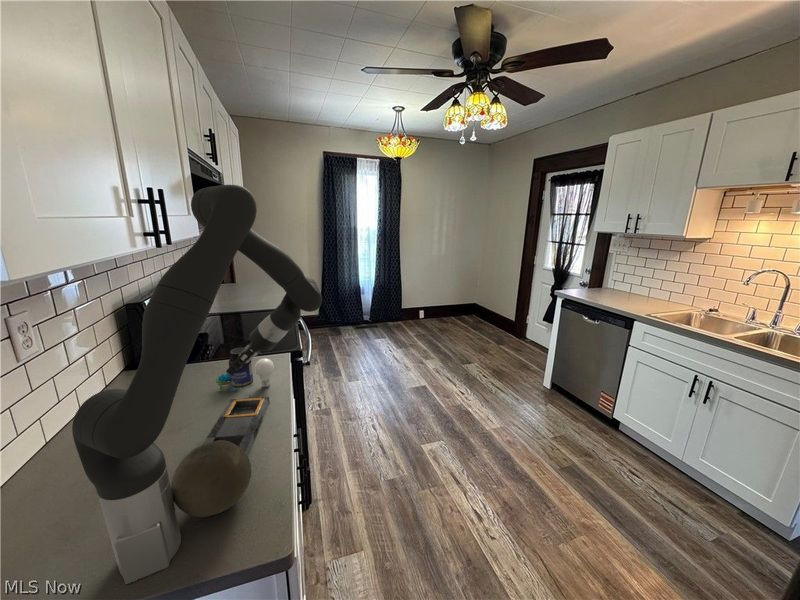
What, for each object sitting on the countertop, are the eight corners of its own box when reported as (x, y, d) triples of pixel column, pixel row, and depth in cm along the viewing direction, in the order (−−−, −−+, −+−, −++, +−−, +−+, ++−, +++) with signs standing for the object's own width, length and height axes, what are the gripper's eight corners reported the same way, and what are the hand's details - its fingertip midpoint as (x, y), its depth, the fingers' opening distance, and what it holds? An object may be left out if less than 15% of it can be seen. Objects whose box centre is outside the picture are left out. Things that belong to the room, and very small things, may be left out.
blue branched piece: (253, 376, 120) (242, 368, 112) (253, 392, 117) (241, 385, 109) (223, 381, 119) (210, 374, 110) (222, 397, 116) (208, 390, 108)
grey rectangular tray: (243, 466, 80) (242, 457, 79) (191, 472, 78) (190, 462, 77) (269, 403, 106) (269, 396, 106) (231, 406, 105) (230, 398, 104)
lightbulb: (252, 388, 115) (249, 360, 112) (267, 380, 121) (264, 354, 118) (265, 392, 113) (262, 364, 110) (279, 384, 118) (276, 357, 115)
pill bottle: (229, 389, 94) (224, 355, 91) (234, 379, 99) (229, 347, 97) (251, 387, 95) (247, 353, 92) (255, 377, 101) (251, 345, 98)
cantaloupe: (194, 486, 74) (184, 431, 70) (259, 476, 77) (253, 423, 73) (166, 546, 61) (152, 482, 57) (246, 531, 64) (237, 469, 60)
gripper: (270, 315, 99) (236, 349, 102) (248, 332, 85) (211, 371, 88) (288, 331, 101) (255, 365, 104) (270, 350, 87) (232, 388, 90)
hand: (234, 367), depth 96 cm, fingers closed on pill bottle, 6 cm apart
